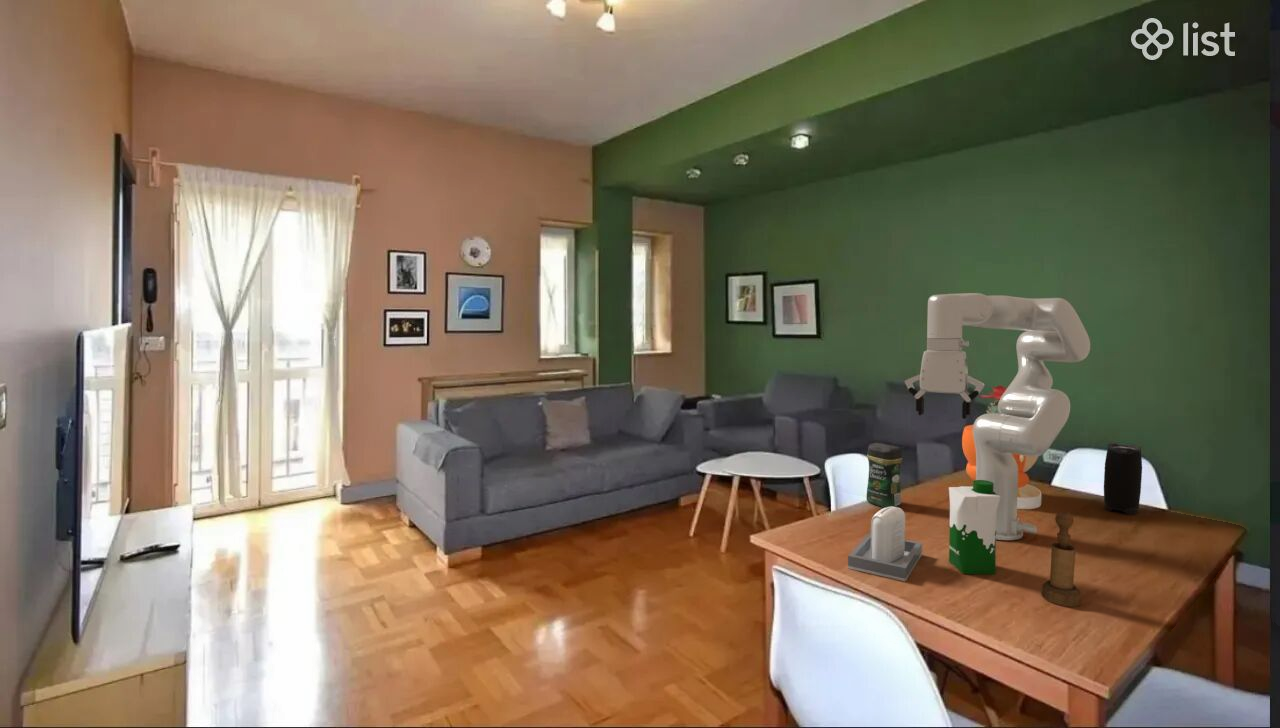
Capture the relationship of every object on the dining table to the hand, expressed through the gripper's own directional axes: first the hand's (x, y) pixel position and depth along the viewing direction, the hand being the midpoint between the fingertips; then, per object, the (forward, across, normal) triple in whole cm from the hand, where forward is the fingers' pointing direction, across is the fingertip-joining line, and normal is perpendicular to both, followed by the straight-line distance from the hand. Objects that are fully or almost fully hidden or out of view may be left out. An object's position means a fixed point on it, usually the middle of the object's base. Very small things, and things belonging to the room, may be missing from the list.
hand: (942, 416), depth 147 cm
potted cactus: (+34, -8, -54) cm, 64 cm away
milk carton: (+34, -8, +8) cm, 35 cm away
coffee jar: (+34, +20, -29) cm, 49 cm away
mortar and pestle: (+34, -25, +15) cm, 44 cm away
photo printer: (+33, +9, +15) cm, 37 cm away
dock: (+33, +9, +15) cm, 38 cm away
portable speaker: (+34, -38, -59) cm, 78 cm away
